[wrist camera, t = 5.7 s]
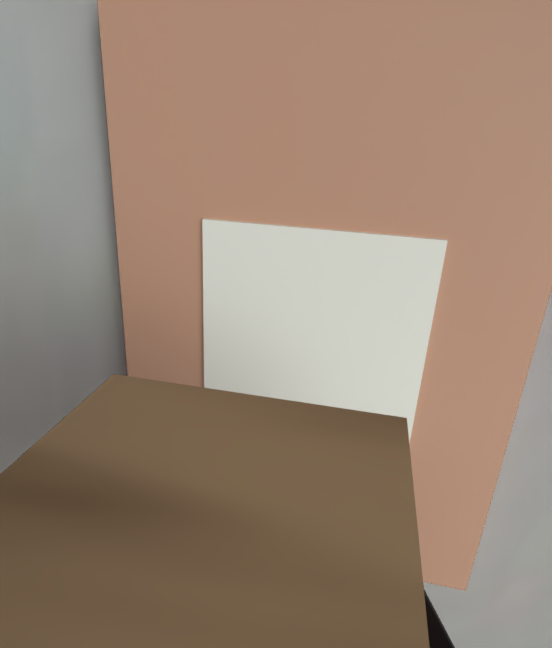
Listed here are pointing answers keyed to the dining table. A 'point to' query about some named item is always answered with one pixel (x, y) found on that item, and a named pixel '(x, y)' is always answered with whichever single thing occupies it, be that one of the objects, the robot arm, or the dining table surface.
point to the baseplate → (342, 217)
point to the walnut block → (211, 526)
